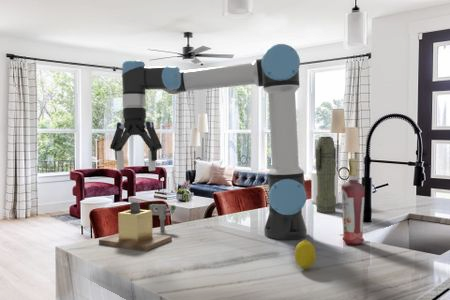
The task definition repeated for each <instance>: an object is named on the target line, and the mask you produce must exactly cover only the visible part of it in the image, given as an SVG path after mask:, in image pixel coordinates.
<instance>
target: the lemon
mask: <svg viewBox="0 0 450 300" xmlns="http://www.w3.org/2000/svg"><path fill="white" fill-rule="evenodd" d="M316 258H317V254H316V248H315V246H314V245H313V244H312V243H311V242H310V241H308V240H307V239H303V240H302V241H300V242H298V243H297V245H296V247H295V250H294V260H295V262H296V264H297V265H298V266H299V267H301V268H303V269H304V270H307V269H308V268H310V267H312V266H313V265H314V264H315V261H316Z"/></svg>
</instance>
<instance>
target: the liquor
mask: <svg viewBox="0 0 450 300" xmlns="http://www.w3.org/2000/svg"><path fill="white" fill-rule="evenodd" d="M348 165H349V172H348V181H347V182H346V183H343V184H342V185H341V203H342V205H341V206H342V220H343V221H342V222H343V223H342V225H343V227H342V228H343V237H342V241H343V242H344V243H345V244H346V245H350V246H359V245H361V244H362V243H363V242H364V241H365V239H364V237H363V233H364V232H363V231H364V228H363V227H364V211H365V191H366V190H365V189H366V188H365V187H366V186H365V185H364V184H362V183H360V182H358V181H359V180H358V171H357V170H358V169H357V166H358V158H348Z"/></svg>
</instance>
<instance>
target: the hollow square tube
mask: <svg viewBox="0 0 450 300" xmlns="http://www.w3.org/2000/svg"><path fill="white" fill-rule="evenodd" d="M117 215H118V216H117V217H118V218H117V220H118V233H119V240H127V241H134V242H139V241H142V240H144V239H147V238H150V237H152V234H153V215H152V211H151V210H150V209H140V213H137V214H134V213H130V209H127V210H124V211H121V212H118V213H117Z"/></svg>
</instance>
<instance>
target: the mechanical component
mask: <svg viewBox="0 0 450 300" xmlns="http://www.w3.org/2000/svg"><path fill="white" fill-rule="evenodd" d="M176 209H177V207H176V205H174V204H171V205H170V207H169V208H168V206H167V203H165V204H164V203H152V204H149V205H148V210H151V211H152V216H158V217H159V218H158V219H159V220H160V221H159V223H160V224H159V225H160V226H159V227H160V230H159V231H160V232H164V231H165V230H166V229H165V223H166V222H165V220H166V219H167V218H166V216H171V215H173V214H175V211H176Z"/></svg>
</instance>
